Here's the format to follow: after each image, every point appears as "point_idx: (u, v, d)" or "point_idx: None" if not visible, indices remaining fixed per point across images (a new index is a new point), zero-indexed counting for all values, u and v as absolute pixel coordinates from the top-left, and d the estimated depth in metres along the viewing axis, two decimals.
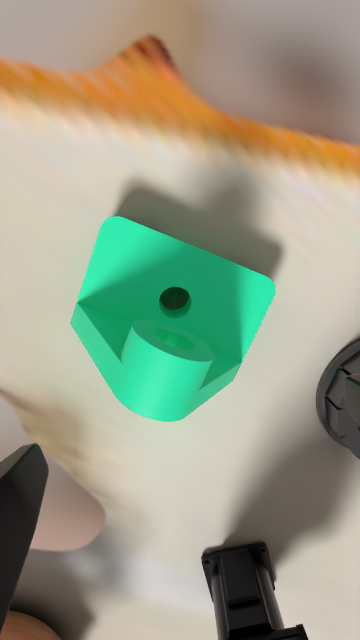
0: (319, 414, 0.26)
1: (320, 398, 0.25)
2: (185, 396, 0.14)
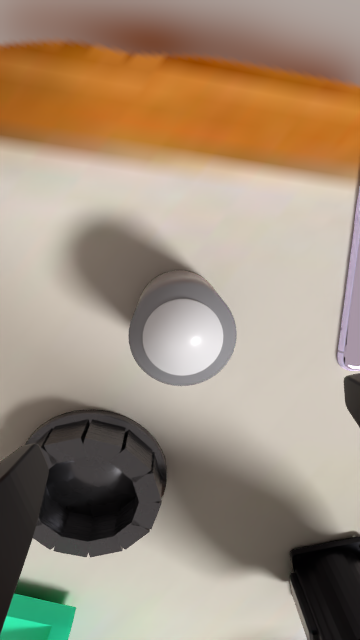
0: None
1: None
2: None
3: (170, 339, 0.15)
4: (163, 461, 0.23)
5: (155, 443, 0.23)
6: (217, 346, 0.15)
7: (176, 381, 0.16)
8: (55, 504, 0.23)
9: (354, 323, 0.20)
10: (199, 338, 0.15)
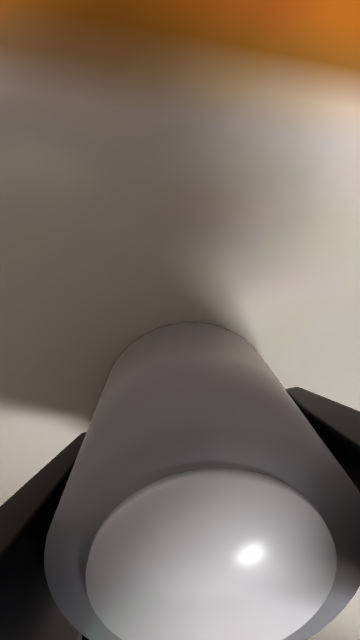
0: None
1: None
2: None
3: (174, 582, 0.05)
4: None
5: None
6: (317, 594, 0.05)
7: None
8: None
9: None
10: (262, 578, 0.05)
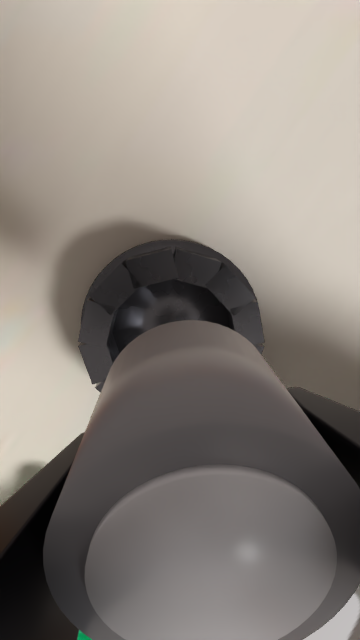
0: None
1: None
2: None
3: (173, 580, 0.05)
4: None
5: (248, 283, 0.19)
6: (316, 591, 0.05)
7: None
8: None
9: None
10: (262, 574, 0.05)
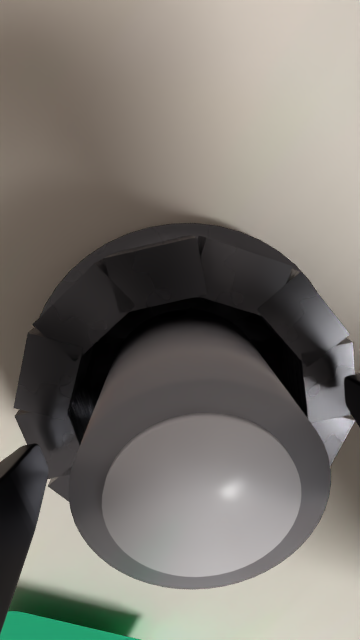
0: None
1: None
2: None
3: (171, 507, 0.06)
4: None
5: None
6: (286, 518, 0.06)
7: (185, 581, 0.07)
8: None
9: None
10: (243, 504, 0.06)
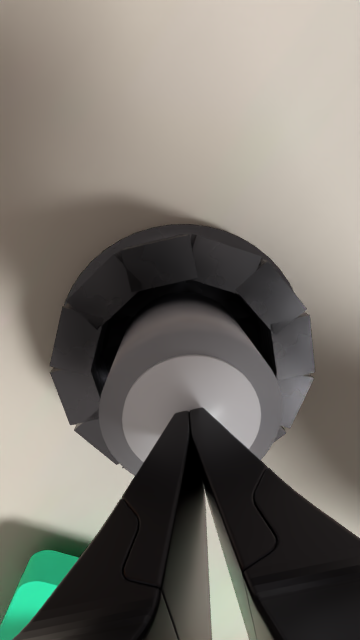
0: None
1: None
2: None
3: None
4: None
5: (290, 288, 0.13)
6: (251, 432, 0.09)
7: None
8: None
9: None
10: (220, 421, 0.09)
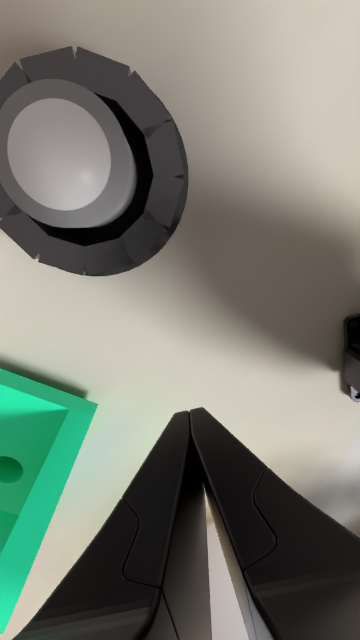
0: (126, 270, 0.19)
1: (99, 274, 0.19)
2: None
3: (43, 157, 0.12)
4: (184, 151, 0.17)
5: (173, 122, 0.17)
6: (104, 168, 0.12)
7: (60, 221, 0.13)
8: None
9: None
10: (80, 157, 0.12)
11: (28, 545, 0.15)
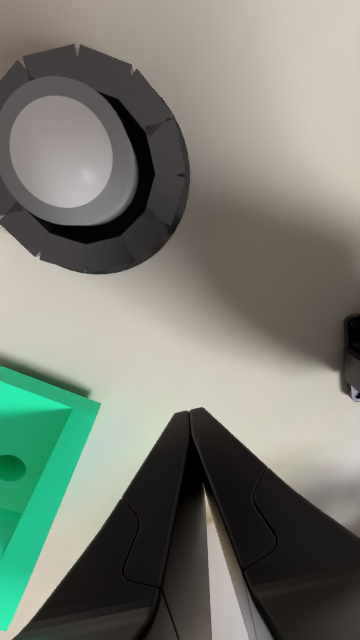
0: None
1: (100, 272, 0.19)
2: None
3: (45, 154, 0.12)
4: (186, 150, 0.17)
5: (175, 121, 0.17)
6: (106, 166, 0.12)
7: (61, 218, 0.13)
8: None
9: None
10: (82, 154, 0.12)
11: (32, 543, 0.15)
